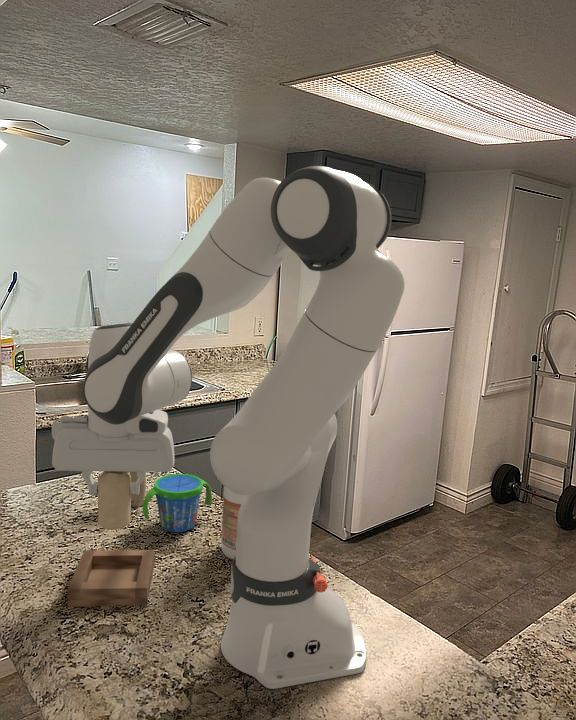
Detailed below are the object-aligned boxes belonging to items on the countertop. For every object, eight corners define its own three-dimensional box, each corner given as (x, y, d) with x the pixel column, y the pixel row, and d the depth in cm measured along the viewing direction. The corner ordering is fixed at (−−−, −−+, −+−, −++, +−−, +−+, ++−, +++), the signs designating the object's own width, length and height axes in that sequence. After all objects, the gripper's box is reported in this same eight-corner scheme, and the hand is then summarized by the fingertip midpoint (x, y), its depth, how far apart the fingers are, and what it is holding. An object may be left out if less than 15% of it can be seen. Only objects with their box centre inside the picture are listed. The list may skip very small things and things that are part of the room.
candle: (121, 532, 102) (122, 478, 100) (92, 527, 103) (91, 473, 101) (135, 517, 107) (136, 465, 105) (107, 513, 108) (107, 461, 106)
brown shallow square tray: (154, 565, 114) (154, 549, 114) (147, 605, 101) (147, 588, 101) (84, 566, 112) (84, 550, 112) (67, 606, 100) (67, 589, 99)
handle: (138, 511, 136) (139, 449, 134) (119, 503, 140) (120, 442, 137) (154, 505, 140) (155, 444, 138) (135, 497, 144) (136, 438, 141)
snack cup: (149, 543, 122) (150, 497, 121) (135, 522, 131) (136, 478, 129) (219, 530, 130) (221, 486, 128) (202, 510, 139) (203, 469, 137)
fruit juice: (225, 537, 127) (230, 410, 122) (269, 541, 126) (276, 414, 121) (217, 560, 117) (222, 423, 112) (264, 564, 117) (272, 427, 112)
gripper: (46, 421, 97) (47, 500, 99) (174, 424, 100) (172, 501, 102) (56, 410, 103) (57, 485, 105) (176, 413, 106) (174, 486, 108)
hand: (114, 493), depth 104 cm, fingers closed on candle, 5 cm apart
